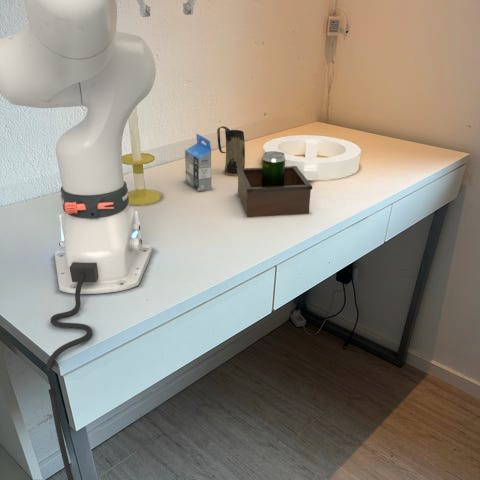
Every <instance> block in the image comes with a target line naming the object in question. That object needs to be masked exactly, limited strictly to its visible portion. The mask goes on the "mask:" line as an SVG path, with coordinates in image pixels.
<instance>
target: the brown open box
mask: <svg viewBox="0 0 480 480" xmlns="http://www.w3.org/2000/svg"><path fill="white" fill-rule="evenodd" d="M237 172H238V176H237V196H238V198H239V201H240V203H241V205H242V209H243V210H244V213H245V216H246V217H247V218H255V217H256V218H258V217H273V216H293V215H296V216H297V215H309V214H310V202H311V192H312V190H313V184H311V183H310V181H309V180H307V179H306V178H305V177H304V175H303V174H302V173H301V171H300V170H299V169H298V167H297V166H286V167H285V177H284V186H269V187H261V186H262V167H244V168H237Z"/></svg>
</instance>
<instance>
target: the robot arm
mask: <svg viewBox="0 0 480 480" xmlns="http://www.w3.org/2000/svg"><path fill="white" fill-rule="evenodd" d="M136 2H137V4H138V6H139V15H140V16H141V17H142V18H149V17H151V6H149V5H148V4H146V3H145V1H144V0H136ZM196 3H197V0H187V1H186V2H183V3H182V7H183V9H182V12H183V15H185V16H190V15H193V14H194V6H195V4H196ZM24 6H25V10H26V16H27V20H28V24H27V25H26V26H24V27H23V28H21V29H20V30H18V31H16V32H15V33H13V34H12V33H11V34H9V35H7V36H4V37H0V95H1V96H2V97H3V98H4V99H5V100H6V101H7V102H8V103H10V104H11V105H14V106H21V107H27V108H35V109H57V108H58V109H59V108H71V107H75V108H76V107H85V108H86V109H87V110H86V114H85V116H84V118H83V119H82V120H81V121H80V122H79V123H77V124H76V125H74V126H72V127H70V128H69V129H68V130H66V131H65V132H63V134H61V136H60V137H59V138H58V140H57V142H56V146H55V156H56V160H57V165H58V172H59V176H60V182H61V187H60V201H61V203H62V204H61V205H62V210H63V211H62V212H61V213H60V214H59V215H58V219H59V224H60V233H61V234H60V235H61V240H60V241H59V243H58V244H59V248H60V249H58V250H56V251H55V252H54V261H55V262H54V263H55V269H56V275H57V284H58V289H59V291H60V292H63V293H66V294H74V301H75V305H74V308H72V309H70V310H68V311H65V312H59V313H56V314H53V315H52V316H51V317H50V323H51V325H52V326H54V327H56V328H61V329H63V328H64V329H77V330H78V329H79V330H84V331H85V332H86V334H85V335H83V336H80V337H79V338H76V339H74V340H71V341H69V342H66V343H64V344H63V345H61V346H59V347H57V348H56V349H55V350H54V351H53V352H52V354H51V355H50V356H49V358H48V360H47V362H46V366H45V371H46V372H49V371H51V370H52V369H53V365H54V363H55V361H56V359H57V358H58V357H59V356H61V354H62V353H64V352H66V351H68V350H69V349H72V348H74V347H76V346H78V345H81V344H83V343H85V342H87V341H89V339H91V337H92V336H93V329H92V327H91V326H89V325H88V324H84V323H77V322H63V321H58V320H60V319H65V318H69V317H72V316H74V315H76V314H77V313H78V312H79V311H80V309H81V304H82V303H81V295H93V294H94V295H97V294H109V293H115V292H117V293H118V292H122V291H126V290H130V289H133V288H135V287H138V286H139V285H140V284H141V280H142V278H143V277H144V276H143V275H144V273H145V271H146V268H147V267H148V264H149V261H150V259H151V256H152V254H153V247H152V246H151V244H147V243H144V242H143V239H142V231H141V223H140V218H139V217H140V216H139V212H138V211H137V209H135V208H134V207H132V205H130V204H128V203H129V198H128V195H129V194H128V192H129V188H128V185H127V182H126V181H125V179H124V168H123V163H122V156H123V151H122V150H123V148H122V147H123V135H124V132H125V127H126V125H127V122H128V118H129V116H130V115H131V113H132V111H133V110H134V109H135V107H136V108H137V106H138V105H139V104H140V103H141V102H142V101H143V100H145V98H147V96H148V95H149V94H150V92H151V91H152V89H153V86H154V84H155V80H156V76H157V75H156V70H157V68H156V60H155V57H154V54H153V53H152V50H151V48H150V47H149V45H148V44H147V43H146V41H145V40H144V39H143V38H142V37H141V36H140V35H136V34H132V33H129V32H122V31H117V23H118V3H117V0H24ZM56 393H57V392H56V389H55V387H52V388H50V389H48V394H49V398H50V404H51V410H52V416H53V421H54V427H55V431H56V436H57V442H58V446H59V451H60V454H61V460H62V463H63V467H64V471H65V474H66V477H67V480H74V476H73V472H72V468H71V464H70V460H69V457H68V452H67V451H68V450H67V447H66V443H65V438H64V433H63V429H62V423H61V417H60V411H59V405H58V399H57V394H56Z"/></svg>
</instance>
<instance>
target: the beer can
mask: <svg viewBox="0 0 480 480" xmlns="http://www.w3.org/2000/svg"><path fill="white" fill-rule="evenodd" d="M263 155H264V156H263ZM284 156H285V154H284V153H282V152H277V151H270V152H265V153H264V154H263V153H262V157H261V158H262V159H261V164H262V165H261V168H262V186H261V187H269V186H284V177H285V157H284Z"/></svg>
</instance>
